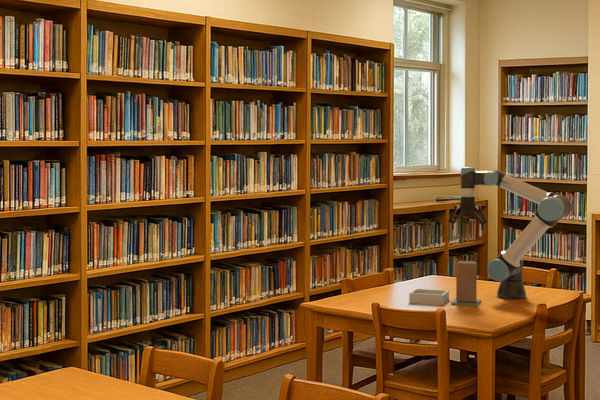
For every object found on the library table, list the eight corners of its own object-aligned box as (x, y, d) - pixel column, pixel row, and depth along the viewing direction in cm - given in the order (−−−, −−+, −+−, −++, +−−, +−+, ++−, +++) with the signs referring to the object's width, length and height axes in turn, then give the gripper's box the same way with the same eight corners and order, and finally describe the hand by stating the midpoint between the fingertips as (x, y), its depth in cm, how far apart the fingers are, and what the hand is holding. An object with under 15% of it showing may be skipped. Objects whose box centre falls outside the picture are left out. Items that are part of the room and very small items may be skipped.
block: (476, 303, 420) (476, 263, 419) (456, 302, 422) (456, 263, 421) (476, 299, 430) (476, 261, 428) (456, 298, 432) (456, 260, 431)
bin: (449, 299, 436) (449, 290, 435) (443, 304, 422) (443, 295, 422) (416, 297, 442) (416, 288, 442) (409, 302, 429) (409, 293, 428)
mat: (481, 301, 429) (481, 299, 429) (476, 306, 417) (476, 303, 417) (456, 300, 434) (456, 298, 434) (451, 304, 422) (451, 302, 422)
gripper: (492, 196, 440) (492, 235, 441) (445, 195, 449) (445, 234, 450) (490, 196, 433) (490, 237, 434) (443, 196, 442) (443, 236, 443)
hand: (467, 236), depth 442 cm, fingers open, 13 cm apart
